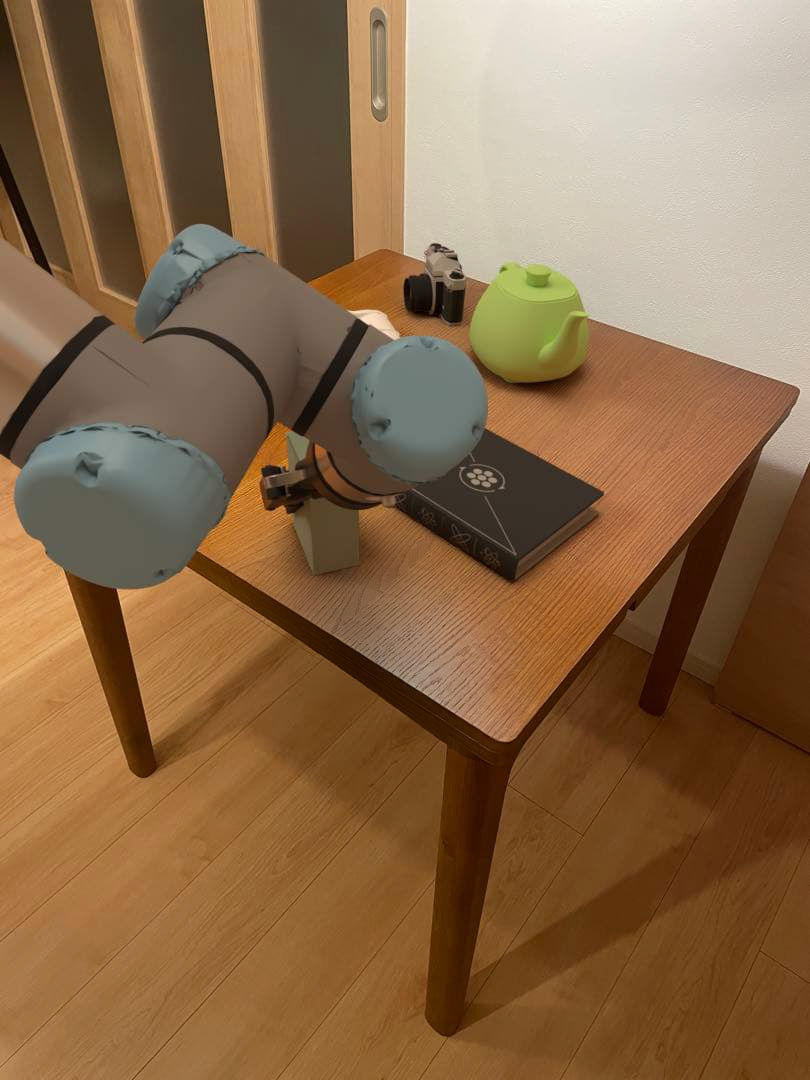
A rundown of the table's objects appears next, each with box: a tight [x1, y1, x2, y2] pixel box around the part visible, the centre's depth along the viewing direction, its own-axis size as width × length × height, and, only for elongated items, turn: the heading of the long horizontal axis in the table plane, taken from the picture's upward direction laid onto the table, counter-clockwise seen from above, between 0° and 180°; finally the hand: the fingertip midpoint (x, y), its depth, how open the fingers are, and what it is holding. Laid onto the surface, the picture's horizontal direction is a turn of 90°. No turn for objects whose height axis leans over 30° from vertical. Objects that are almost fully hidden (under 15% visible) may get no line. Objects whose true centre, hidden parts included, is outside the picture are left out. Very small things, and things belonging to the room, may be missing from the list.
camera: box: [403, 242, 468, 327], centre depth 115 cm, size 13×8×9 cm, turn 17°
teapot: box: [468, 262, 590, 384], centre depth 101 cm, size 22×15×13 cm
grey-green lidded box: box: [285, 430, 360, 576], centre depth 75 cm, size 5×8×12 cm, turn 20°
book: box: [393, 427, 605, 583], centre depth 84 cm, size 22×15×3 cm
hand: (313, 495), depth 79 cm, fingers closed on grey-green lidded box, 4 cm apart
